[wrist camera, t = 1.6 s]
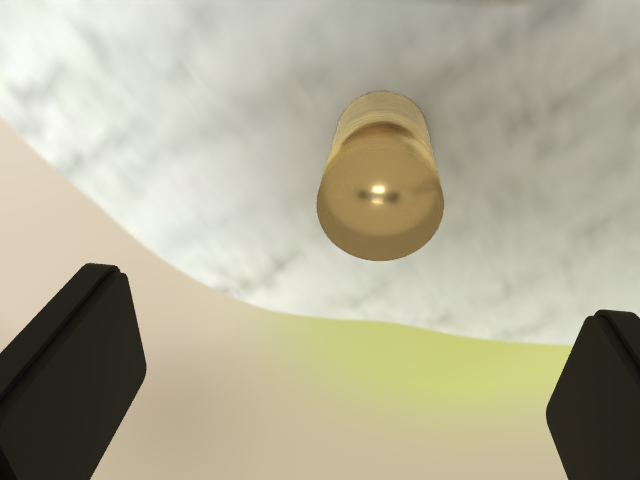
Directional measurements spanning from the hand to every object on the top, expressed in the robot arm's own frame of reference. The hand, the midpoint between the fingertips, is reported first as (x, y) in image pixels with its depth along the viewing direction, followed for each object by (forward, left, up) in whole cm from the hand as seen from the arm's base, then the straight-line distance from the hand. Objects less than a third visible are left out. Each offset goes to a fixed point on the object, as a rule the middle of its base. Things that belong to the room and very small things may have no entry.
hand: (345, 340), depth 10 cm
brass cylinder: (-1, 0, -13) cm, 13 cm away
